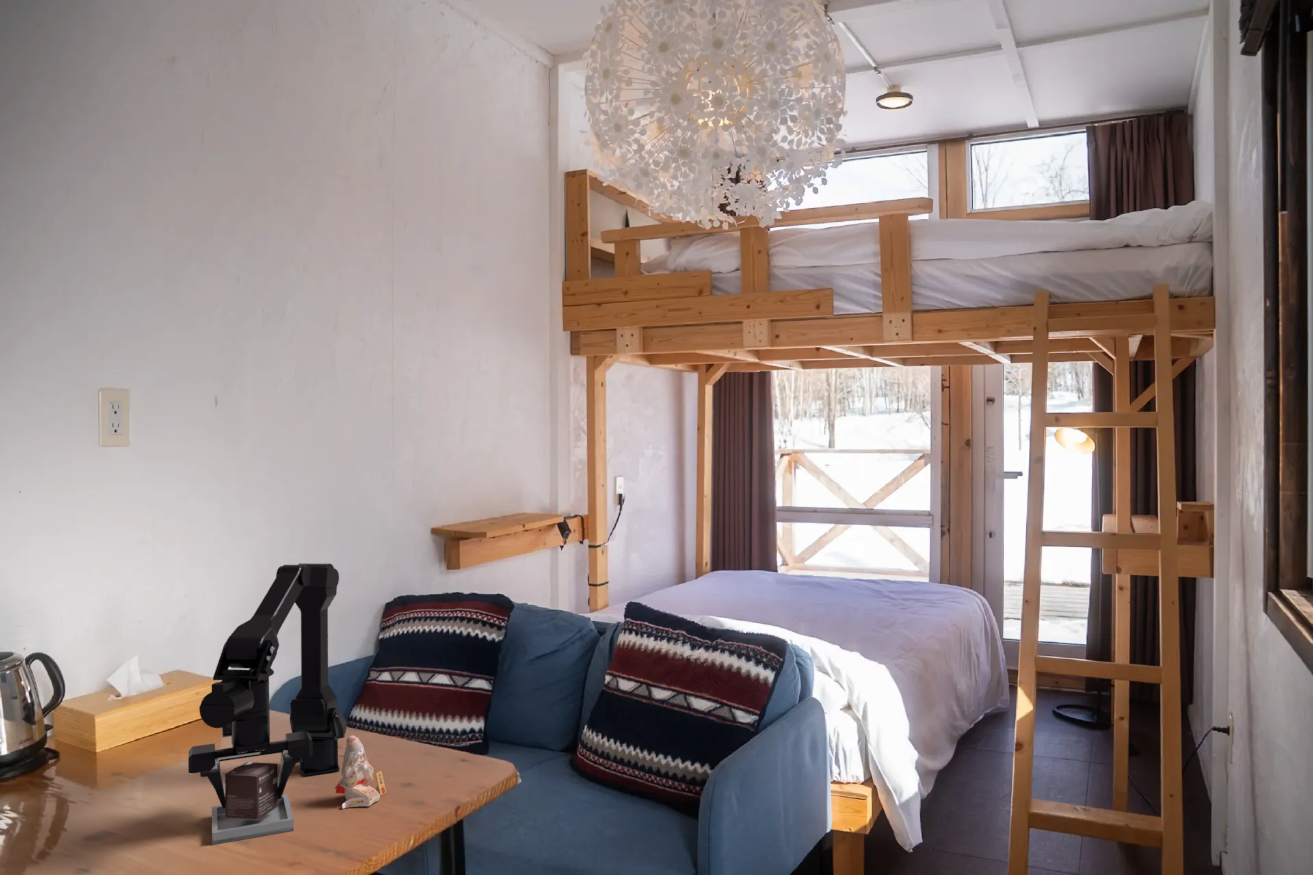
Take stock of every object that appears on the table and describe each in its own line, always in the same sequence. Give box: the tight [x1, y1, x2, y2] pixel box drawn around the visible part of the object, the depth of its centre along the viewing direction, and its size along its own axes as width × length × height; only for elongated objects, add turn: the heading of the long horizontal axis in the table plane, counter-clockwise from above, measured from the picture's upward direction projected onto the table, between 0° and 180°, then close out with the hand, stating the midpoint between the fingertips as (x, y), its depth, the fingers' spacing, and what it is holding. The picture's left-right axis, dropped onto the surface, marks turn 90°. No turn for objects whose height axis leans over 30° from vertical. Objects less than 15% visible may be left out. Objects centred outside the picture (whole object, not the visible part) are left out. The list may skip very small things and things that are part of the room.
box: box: [224, 761, 279, 820], centre depth 158 cm, size 6×6×7 cm
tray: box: [211, 793, 295, 846], centre depth 158 cm, size 12×12×2 cm
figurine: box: [334, 735, 387, 809], centre depth 167 cm, size 9×7×12 cm
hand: (252, 802), depth 158 cm, fingers closed on box, 8 cm apart
